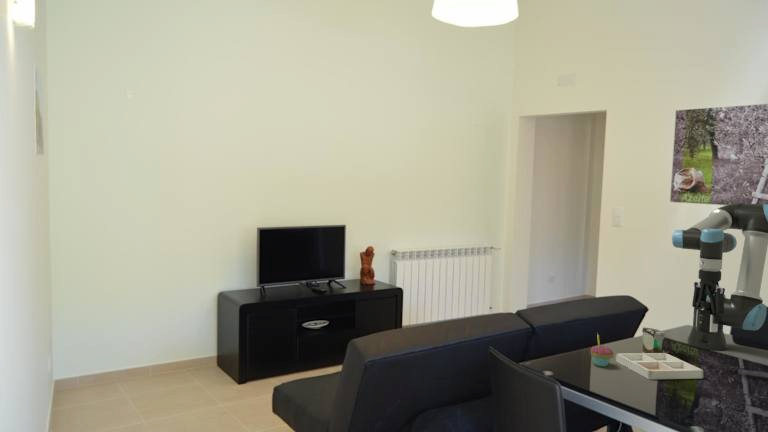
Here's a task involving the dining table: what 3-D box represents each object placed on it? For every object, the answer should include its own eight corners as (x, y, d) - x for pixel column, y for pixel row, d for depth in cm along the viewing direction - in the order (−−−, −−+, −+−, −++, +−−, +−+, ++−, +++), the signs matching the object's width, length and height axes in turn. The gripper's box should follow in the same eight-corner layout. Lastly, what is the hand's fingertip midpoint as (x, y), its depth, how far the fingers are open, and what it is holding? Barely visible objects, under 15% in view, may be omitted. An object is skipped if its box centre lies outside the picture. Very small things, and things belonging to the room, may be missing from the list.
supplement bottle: (692, 329, 228) (693, 299, 227) (707, 329, 229) (709, 298, 228) (704, 334, 221) (706, 302, 220) (720, 334, 222) (722, 302, 222)
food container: (669, 360, 235) (670, 335, 234) (653, 359, 235) (655, 334, 234) (655, 351, 247) (657, 327, 246) (640, 350, 247) (642, 327, 247)
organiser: (665, 360, 234) (665, 353, 233) (703, 378, 213) (703, 370, 212) (615, 361, 230) (616, 353, 230) (649, 379, 209) (649, 371, 209)
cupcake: (587, 365, 223) (589, 334, 223) (591, 359, 231) (592, 329, 230) (611, 369, 219) (613, 337, 219) (614, 363, 227) (616, 332, 226)
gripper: (683, 265, 233) (680, 323, 234) (720, 273, 213) (716, 336, 215) (700, 265, 234) (697, 322, 235) (738, 273, 214) (734, 336, 216)
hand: (706, 329), depth 225 cm, fingers closed on supplement bottle, 7 cm apart
